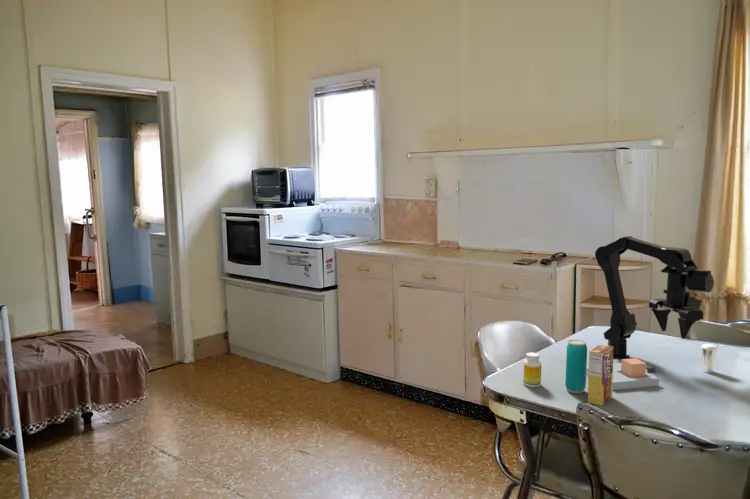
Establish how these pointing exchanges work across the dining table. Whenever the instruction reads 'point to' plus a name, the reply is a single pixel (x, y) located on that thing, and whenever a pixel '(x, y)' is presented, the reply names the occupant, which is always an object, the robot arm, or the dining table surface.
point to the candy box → (600, 374)
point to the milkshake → (708, 357)
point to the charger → (633, 368)
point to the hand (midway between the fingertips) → (673, 334)
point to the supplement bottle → (532, 370)
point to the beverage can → (576, 366)
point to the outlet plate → (629, 379)
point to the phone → (649, 368)
